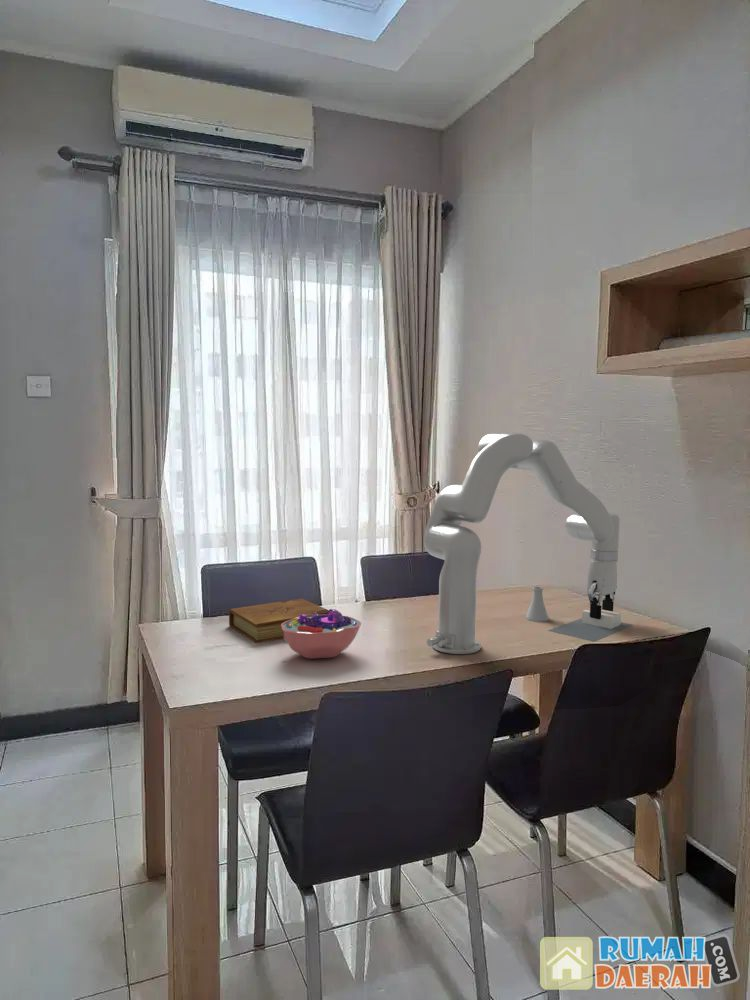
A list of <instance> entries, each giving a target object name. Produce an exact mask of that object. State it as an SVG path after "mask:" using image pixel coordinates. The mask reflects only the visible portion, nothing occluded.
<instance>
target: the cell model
mask: <svg viewBox="0 0 750 1000" xmlns="http://www.w3.org/2000/svg"><path fill="white" fill-rule="evenodd" d="M328 610H329V612H328V614H309V615H303V616H302V614H300V616H299V617H296V618H293V619H291V620H288V621H286V622H284V623H282V624H281V627H282V633H283V637H284V639H283V640H284V641H285V642H286V643H287V644H288V646H289V648H290V649H291V650H292V651H293V652H294V653H296V654H297V655H300V656H302V657H304V658H306V659H313V660H315V659H330V658H335V657H337V656H338V655H340V654H341V653H342V652H344V651H345V650H347V649H348V648H349V647H350V645H351V644H352V642H353V641H354V640H355V639H356V637H357V635H358V633H359V631H360V628H361V625H362V622H361V621H360V620H358V619H356V618H354V617H351V616H348V615H347V616H346V615H343V614H342V612H340V611H339V610H337V609H334V608H330V609H328Z"/></svg>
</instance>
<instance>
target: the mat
mask: <svg viewBox="0 0 750 1000" xmlns="http://www.w3.org/2000/svg"><path fill="white" fill-rule="evenodd" d="M632 626H633V624H631V623H626V622H624V621H623V622H622V621H621V623H620V625H619V626H617V627H614V628H612V629H609V628H604V627H600V626H595V625H591V624H586V623H582V617H581V618H578V619H575V620H573V621H570V622H567V623H565V624H562V625H559V626H556V627H554V628H551V629H548V630H547V631H548V632H552V633H556V634H561V635H565V636H568V637H573V638H577V639H581V640H585V641H590V642H593V643H594V642H597V641H599V640H602V639H604V638H606V637H608V636H609V637H610V635H611V636H612V634H613V635H614V634H615V633H618V632H620V631H622V630H624V629H627V628H630V627H632Z"/></svg>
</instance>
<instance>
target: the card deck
mask: <svg viewBox="0 0 750 1000" xmlns="http://www.w3.org/2000/svg"><path fill="white" fill-rule="evenodd" d="M581 613H582V614H581V618H582V623H586V624H591V625H595V626H600V627H604V628H609V629H612V628H614V627H617V626H619V625H620V623H621V622H622V621H621V620H622V612H616V611H613V612H612V611H607V610H602V608H601V619H595V618H591V617H590V607H589V608H586V609H584V610H582V611H581Z"/></svg>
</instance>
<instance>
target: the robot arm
mask: <svg viewBox="0 0 750 1000" xmlns="http://www.w3.org/2000/svg"><path fill="white" fill-rule="evenodd" d="M477 447H478V448H477V454H476V456H475V457H474V458H473V460H472V461H471V464H470V466H469V468H468V470H467V472H466V474H465V477H464V478H463V479H464V480H463V481H462V484H451V485H448V486H446V487H445V488H443V489H442V490H441V492H440V493H439V494H438V495H437V498H436V500H435V502H434V505H433V508H432V510H431V514H430V515H429V519H428V522H427V524H426V528H425V531H424V535H423V547H424V549H425V551H426V552H427V553H428V554H429V555H431V556H432V557H434V558H437V559H440V560H444V561H443V565H442V567H441V570H440V574H439V580H438V589H439V590H438V619H437V620H438V623H437V624H438V625H437V631H435V632H436V633H435V636H434V637H430V638H428V639H427V640H426V644H427V646H429V647H431V648H433V649H434V650H436V651H439V652H441V653H445V654H450V655H468V654H474V653H477V652H479V651H480V650H481V647H482V645H481V642H480V641H478V640H477V639H476V614H477V613H476V612H477V611H476V609H477V577H478V569H479V562H480V557H481V553H482V542H481V538H480V537H479V535H478V534H477V533H476V532H475V531H474V530H472V529H471V528H469V527H466V526H461V524H462V523H468V524H479V523H482V522H483V521H484V520H485V519H486V518H487V515H488V513H489V511H490V508H491V505H492V502H493V500H494V496H495V494H496V490H497V488H498V485H499V483H500V480H501V478H502V477H503V475H504V474H505V473H506V472H507V471H509V469H519V470H526V471H527V470H528V471H534V473H535V475H536V476H537V478H538V479H539V481H540V483H541V484H542V486H543V488H544V489H545V491H546V493H547V494H548V496H549V497H550V498H551V499H552V500H554V501H555V502H557V503H559V504H560V505H562V506H565V507H566V508H568V509H570V510H572V511H573V512H575V513H573V514H571V515H569V516H568V517H567V518H566V520H565V522H564V529H565V532H566V534H567V535H569V536H570V537H571V538H574V539H577V540H583V541H588V542H589V541H590V545H591V546H590V561H589V566H588V567H589V568H588V573H587V581H586V583H587V584H586V593H587V596H588V599H589V608H590V617H591V618H595V619H601V609H602V610H607V611H612V612H614V603H615V602H614V601H615V595H616V591H617V587H618V586H617V585H618V584H617V583H618V564H617V563H618V562H619V542H620V522H621V521H620V520H621V519H620V515H618V514H616V513H613V512H612V513H611V512H609V511H608V509H607V508H606V506H605V505H604V503H603V502H602V501H601V500H600V499H599V498H598V497H597V496H596V495H594V493H593V492H591V491H590V489H588V488H587V487H585V485H583V484H582V483H581V482H579V481H578V479H577V478H576V476H575V475H574V473H573V471H572V469H571V468H570V466H569V465H568V463H567V461H566V459H565V458H564V456H563V454H562V452H561V451H560V449H559V447H558V445H556V443H554V442H553V441H551V440H547V439H531V437H529V436H528V435H526V434H524V433H519V432H505V433H504V432H502V433H501V432H494V433H493V432H492V433H489V434H486V435H484V436H483V437H482V438H481V439H480V441H479V443H478V446H477ZM601 602H602V604H601Z"/></svg>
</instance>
